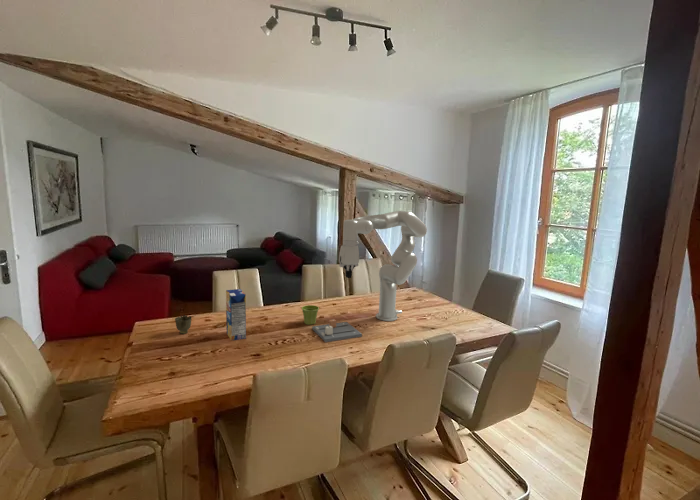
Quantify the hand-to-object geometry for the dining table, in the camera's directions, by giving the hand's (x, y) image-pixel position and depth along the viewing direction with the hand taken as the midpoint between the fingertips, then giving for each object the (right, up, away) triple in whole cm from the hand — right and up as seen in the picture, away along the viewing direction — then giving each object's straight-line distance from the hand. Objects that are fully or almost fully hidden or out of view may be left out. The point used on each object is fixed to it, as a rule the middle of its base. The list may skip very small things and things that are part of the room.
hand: (348, 277), depth 197 cm
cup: (-81, -27, -14) cm, 87 cm away
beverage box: (-55, -28, -15) cm, 64 cm away
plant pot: (-21, -26, +7) cm, 34 cm away
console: (-6, -28, -6) cm, 29 cm away
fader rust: (-8, -26, -3) cm, 27 cm away
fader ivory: (-10, -27, -12) cm, 31 cm away
